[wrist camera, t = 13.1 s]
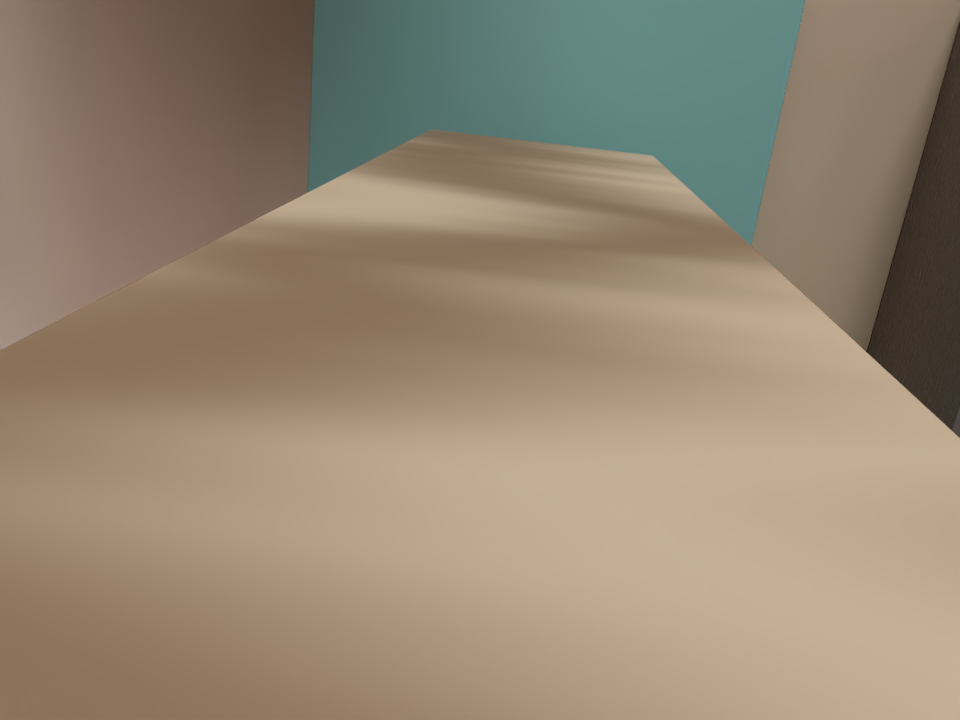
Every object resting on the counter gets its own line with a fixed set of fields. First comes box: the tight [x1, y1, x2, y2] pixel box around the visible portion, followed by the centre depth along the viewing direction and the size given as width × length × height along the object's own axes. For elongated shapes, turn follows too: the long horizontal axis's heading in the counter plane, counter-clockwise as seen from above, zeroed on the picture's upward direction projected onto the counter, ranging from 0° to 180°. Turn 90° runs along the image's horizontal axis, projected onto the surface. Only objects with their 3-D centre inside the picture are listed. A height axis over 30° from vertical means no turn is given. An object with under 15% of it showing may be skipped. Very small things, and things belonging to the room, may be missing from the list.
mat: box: [308, 0, 805, 246], centre depth 19 cm, size 9×18×1 cm, turn 174°
